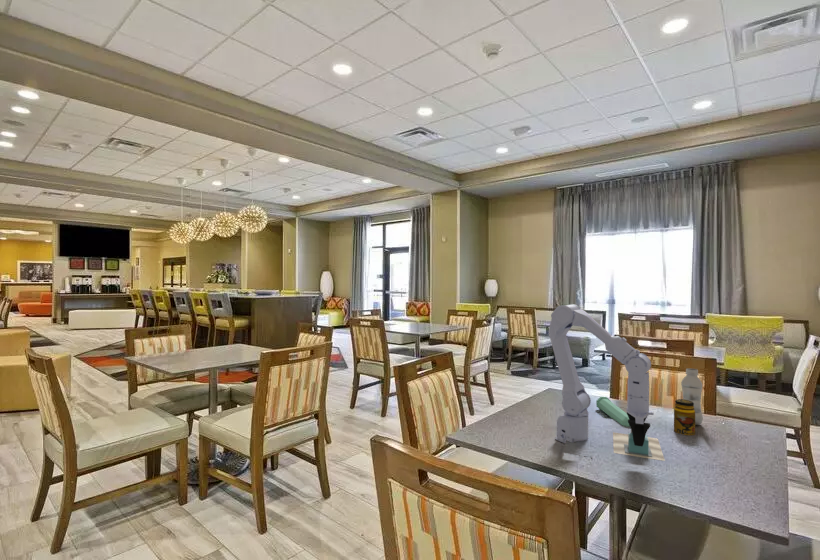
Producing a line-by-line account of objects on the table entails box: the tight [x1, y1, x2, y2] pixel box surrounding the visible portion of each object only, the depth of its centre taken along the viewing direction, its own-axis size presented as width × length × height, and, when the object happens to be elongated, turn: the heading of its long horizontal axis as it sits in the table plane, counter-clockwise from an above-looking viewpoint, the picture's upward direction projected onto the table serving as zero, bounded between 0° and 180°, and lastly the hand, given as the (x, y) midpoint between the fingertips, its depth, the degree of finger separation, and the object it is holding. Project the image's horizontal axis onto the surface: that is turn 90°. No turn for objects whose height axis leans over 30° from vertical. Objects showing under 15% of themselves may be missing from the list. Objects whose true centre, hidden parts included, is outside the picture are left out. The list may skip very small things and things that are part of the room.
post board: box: [612, 429, 666, 462], centre depth 132 cm, size 19×13×4 cm
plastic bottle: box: [681, 368, 704, 426], centre depth 157 cm, size 6×7×20 cm
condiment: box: [673, 398, 696, 436], centre depth 145 cm, size 7×8×12 cm
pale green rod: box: [595, 396, 631, 428], centre depth 161 cm, size 6×6×25 cm
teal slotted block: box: [627, 432, 649, 454], centre depth 128 cm, size 5×5×4 cm
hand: (637, 441), depth 128 cm, fingers open, 7 cm apart
